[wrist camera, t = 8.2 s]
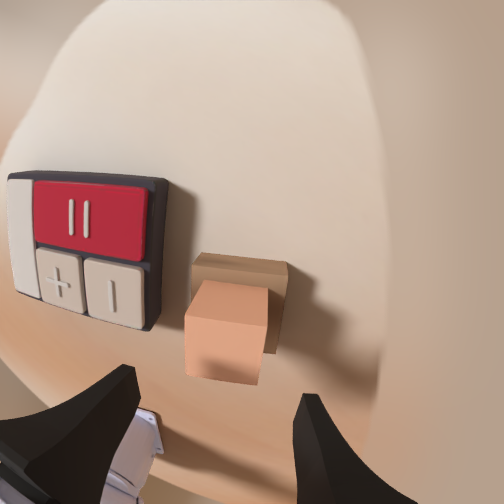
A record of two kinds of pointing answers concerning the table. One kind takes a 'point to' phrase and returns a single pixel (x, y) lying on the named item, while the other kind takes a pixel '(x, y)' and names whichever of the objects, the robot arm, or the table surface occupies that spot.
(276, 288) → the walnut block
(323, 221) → the table surface
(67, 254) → the calculator
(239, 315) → the terracotta block
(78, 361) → the table surface
